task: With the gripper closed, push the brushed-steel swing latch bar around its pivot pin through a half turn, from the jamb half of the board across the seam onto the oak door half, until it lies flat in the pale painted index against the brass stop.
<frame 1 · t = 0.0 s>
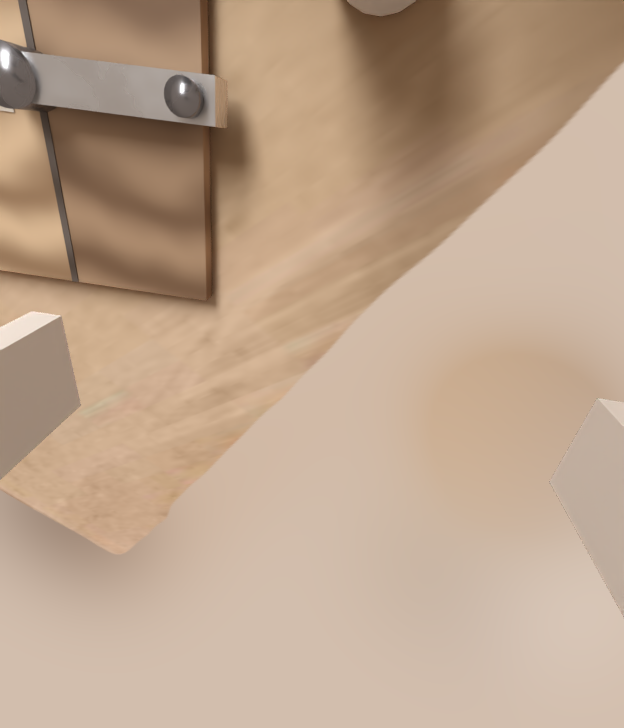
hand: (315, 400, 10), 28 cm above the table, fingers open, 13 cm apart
door board: (52, 84, 32), on the table
latch bar: (104, 88, 29), point 4 cm above the table, hinge at 180.0°
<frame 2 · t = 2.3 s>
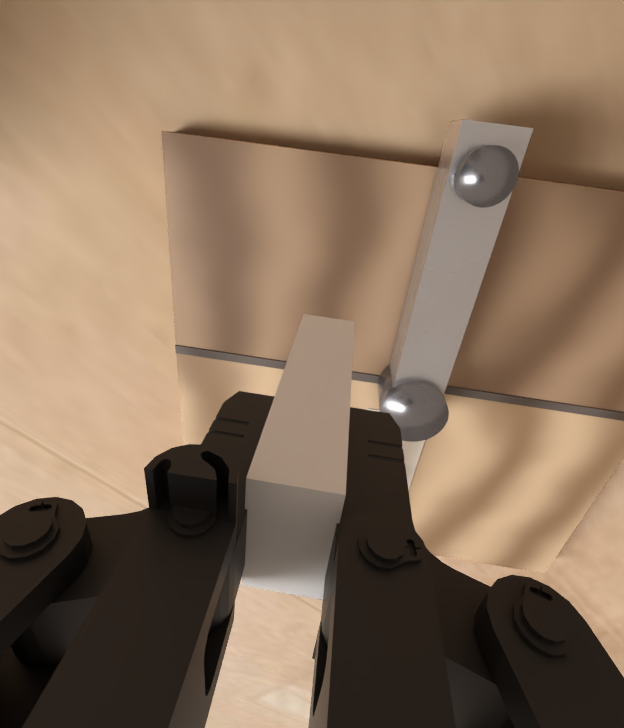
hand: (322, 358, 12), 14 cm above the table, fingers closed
door board: (405, 371, 28), on the table
latch bar: (439, 304, 22), point 4 cm above the table, hinge at 180.0°
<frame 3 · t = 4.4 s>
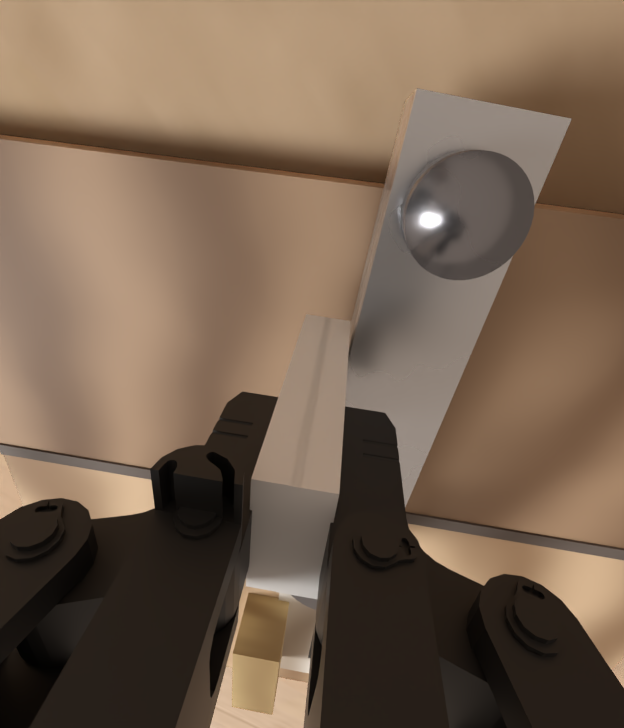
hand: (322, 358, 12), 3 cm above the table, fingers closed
door board: (342, 479, 19), on the table
latch bar: (379, 419, 13), point 4 cm above the table, hinge at 176.2°, touching gripper
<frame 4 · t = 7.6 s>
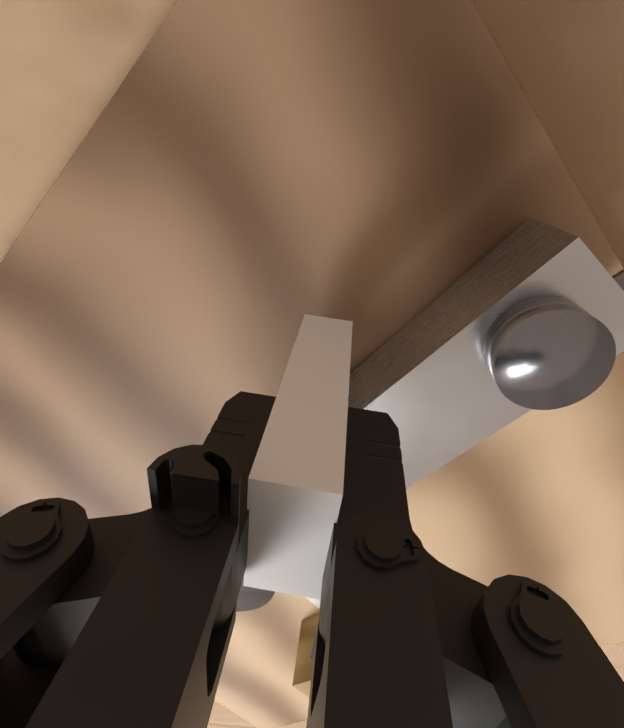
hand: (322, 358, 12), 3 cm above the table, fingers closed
door board: (256, 476, 19), on the table
latch bar: (347, 458, 13), point 4 cm above the table, hinge at 96.8°, touching gripper
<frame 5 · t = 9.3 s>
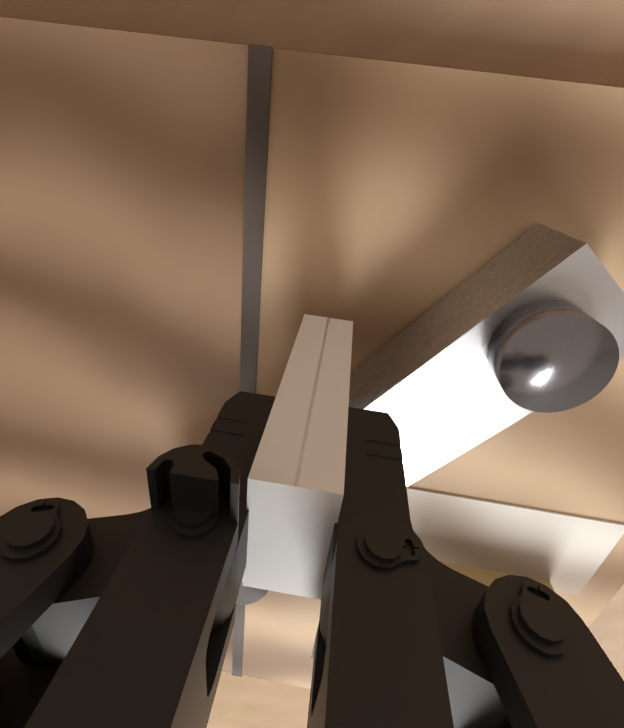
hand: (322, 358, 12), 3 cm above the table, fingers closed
door board: (252, 472, 19), on the table
latch bar: (347, 455, 13), point 4 cm above the table, hinge at 52.6°, touching gripper
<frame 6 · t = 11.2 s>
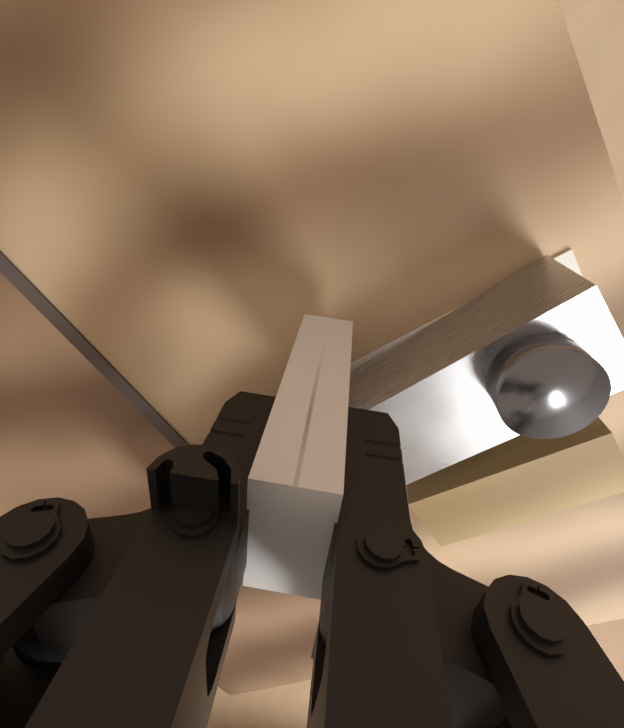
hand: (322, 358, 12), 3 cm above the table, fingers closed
door board: (231, 459, 19), on the table
latch bar: (334, 456, 13), point 4 cm above the table, hinge at 4.1°, touching gripper
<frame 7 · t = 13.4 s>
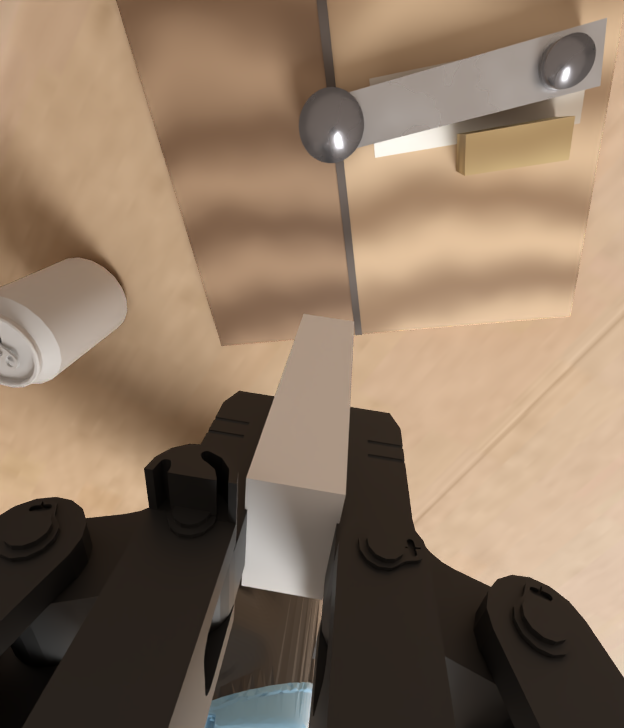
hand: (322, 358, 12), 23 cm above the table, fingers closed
door board: (337, 126, 29), on the table
can: (96, 292, 39), on the table
latch bar: (437, 98, 24), point 4 cm above the table, hinge at 4.0°
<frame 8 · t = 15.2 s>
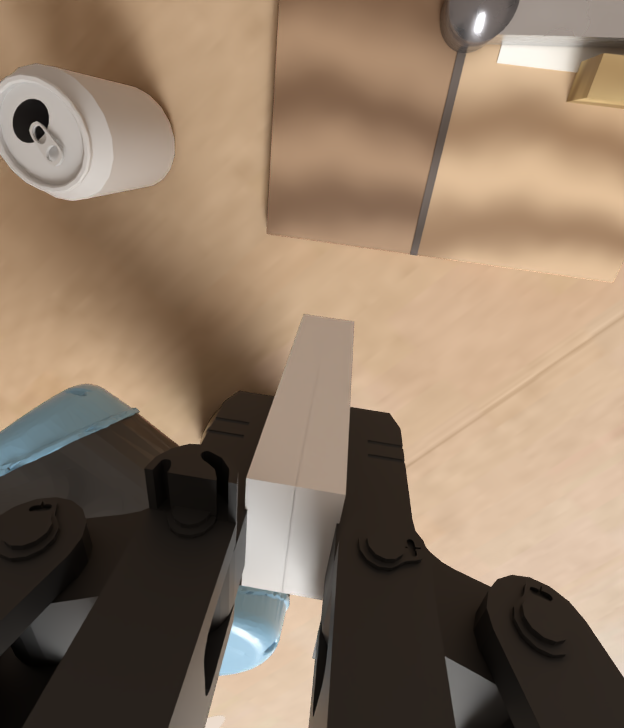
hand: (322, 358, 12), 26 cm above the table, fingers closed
door board: (465, 22, 28), on the table
can: (137, 139, 34), on the table
latch bar: (587, 9, 24), point 4 cm above the table, hinge at 4.0°
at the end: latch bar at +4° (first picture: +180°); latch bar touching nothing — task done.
